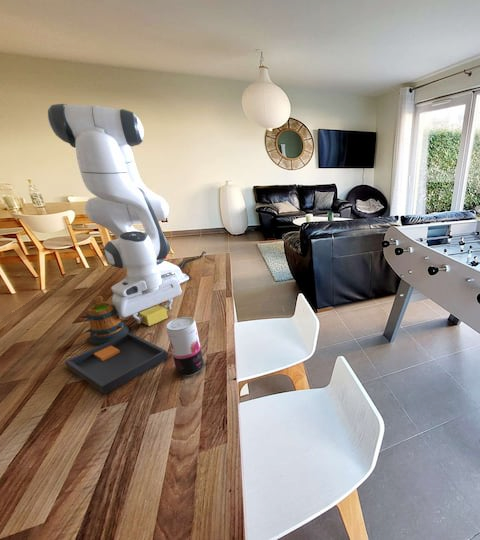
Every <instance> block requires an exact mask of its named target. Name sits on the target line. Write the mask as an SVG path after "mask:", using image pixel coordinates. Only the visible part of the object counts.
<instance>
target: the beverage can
mask: <svg viewBox="0 0 480 540" xmlns="http://www.w3.org/2000/svg"><path fill="white" fill-rule="evenodd" d="M165 328H166V329H165V330H166V334H167V337H168V341H169V347H170V350H171V354H172V359H173V362H174V367H175V371H176V374H177V375H179V376H182V377H190V376H193V375H196V374H198V373H199V372H200V371H201V370H202V369H203V368H204V365H205V363H204V359H203V353H202V349H201V343H200V338H199V333H198V328H197V322H196V320H195V319H194V318H193V317H190V316H181V317H177V318H174V319H172V320H171V321H169V322H168V323H167V324H166V327H165Z"/></svg>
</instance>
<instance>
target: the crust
mask: <svg viewBox="0 0 480 540" xmlns="http://www.w3.org/2000/svg"><path fill="white" fill-rule="evenodd" d="M118 353H120V351H119V350H118V349H117V348H115V347H113V346H109V347H106V348H104V349H102V350H100V351H98V352H95V353H93V354H94V356H95V357H96V358H98V359H99V360H101V361H104V360H106V359H108V358H110V357H112V356H114V355H116V354H118Z"/></svg>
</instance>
